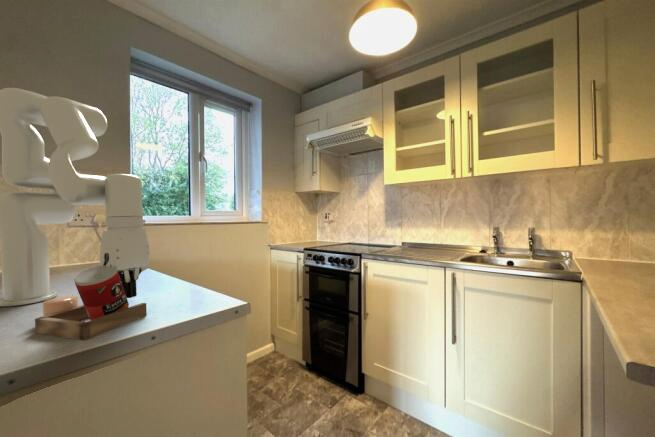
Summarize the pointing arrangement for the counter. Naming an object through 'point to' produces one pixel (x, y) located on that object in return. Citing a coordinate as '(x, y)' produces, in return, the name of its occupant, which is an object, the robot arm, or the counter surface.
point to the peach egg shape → (59, 304)
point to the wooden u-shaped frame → (71, 327)
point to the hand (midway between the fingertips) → (128, 296)
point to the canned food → (101, 291)
